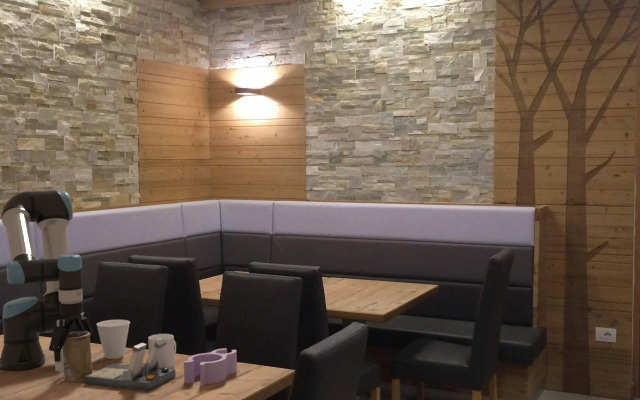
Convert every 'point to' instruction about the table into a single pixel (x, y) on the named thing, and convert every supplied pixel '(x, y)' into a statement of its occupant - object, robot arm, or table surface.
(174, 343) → the mug
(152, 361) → the toggle
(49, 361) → the table surface
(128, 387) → the panel
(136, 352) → the toggle
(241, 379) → the table surface
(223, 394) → the table surface
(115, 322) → the cup
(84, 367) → the mug
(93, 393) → the table surface
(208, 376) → the clip
